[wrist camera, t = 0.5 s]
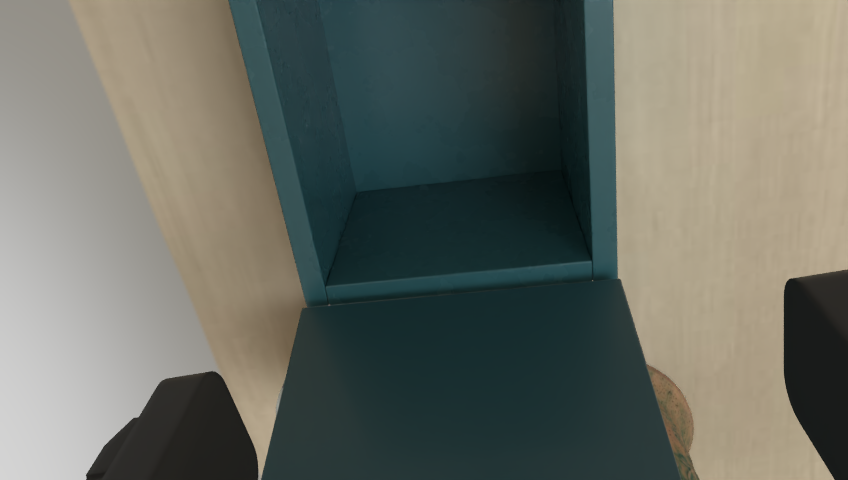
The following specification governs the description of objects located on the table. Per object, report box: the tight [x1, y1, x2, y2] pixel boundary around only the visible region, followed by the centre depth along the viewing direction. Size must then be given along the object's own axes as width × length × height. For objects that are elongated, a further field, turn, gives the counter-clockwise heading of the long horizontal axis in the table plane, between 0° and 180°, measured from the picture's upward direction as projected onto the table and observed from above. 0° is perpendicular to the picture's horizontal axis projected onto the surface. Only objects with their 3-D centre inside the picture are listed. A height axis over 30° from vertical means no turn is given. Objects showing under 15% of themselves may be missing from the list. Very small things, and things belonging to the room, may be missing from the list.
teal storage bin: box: [228, 0, 618, 308], centre depth 27 cm, size 15×12×10 cm
